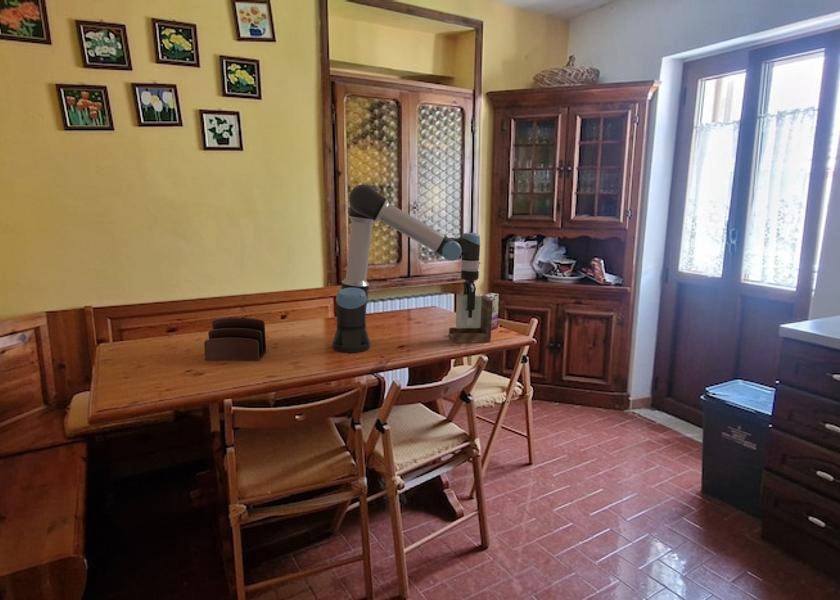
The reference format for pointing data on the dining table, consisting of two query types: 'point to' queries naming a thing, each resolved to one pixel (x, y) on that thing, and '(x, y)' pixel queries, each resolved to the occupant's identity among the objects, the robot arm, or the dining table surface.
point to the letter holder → (236, 339)
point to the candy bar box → (494, 309)
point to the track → (476, 333)
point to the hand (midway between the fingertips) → (467, 323)
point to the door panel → (462, 310)
